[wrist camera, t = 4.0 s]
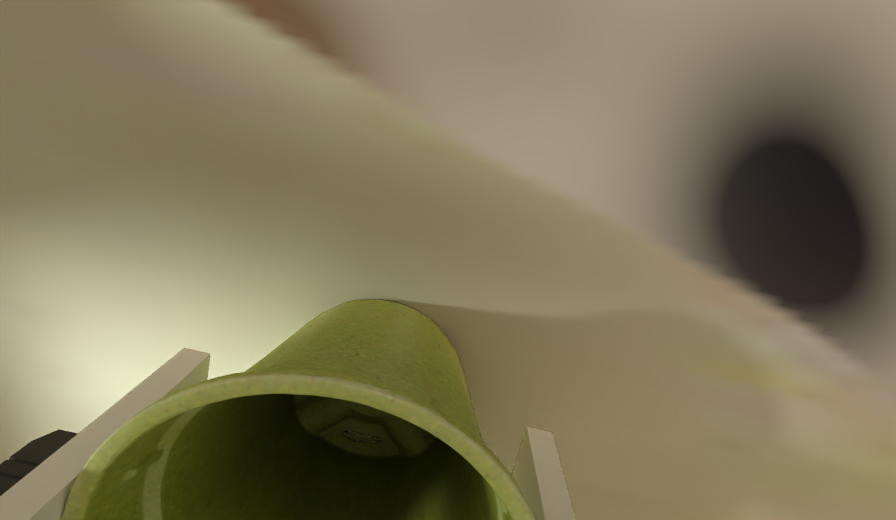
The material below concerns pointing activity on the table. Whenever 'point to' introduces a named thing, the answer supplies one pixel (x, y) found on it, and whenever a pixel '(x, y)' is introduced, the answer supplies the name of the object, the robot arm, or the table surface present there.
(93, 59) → the table surface
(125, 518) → the plant pot
